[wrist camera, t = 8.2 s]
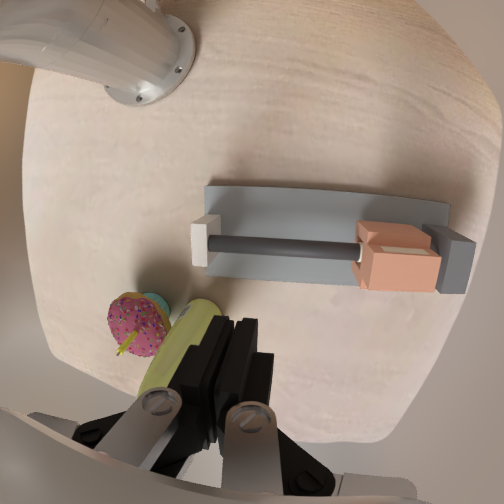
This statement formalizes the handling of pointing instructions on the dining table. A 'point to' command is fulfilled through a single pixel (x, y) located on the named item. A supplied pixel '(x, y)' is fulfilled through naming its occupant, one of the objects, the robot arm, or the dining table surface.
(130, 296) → the cupcake
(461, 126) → the dining table surface
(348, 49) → the dining table surface
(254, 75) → the dining table surface
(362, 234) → the sleeve
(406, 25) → the dining table surface
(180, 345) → the tube
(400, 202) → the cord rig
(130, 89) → the robot arm
